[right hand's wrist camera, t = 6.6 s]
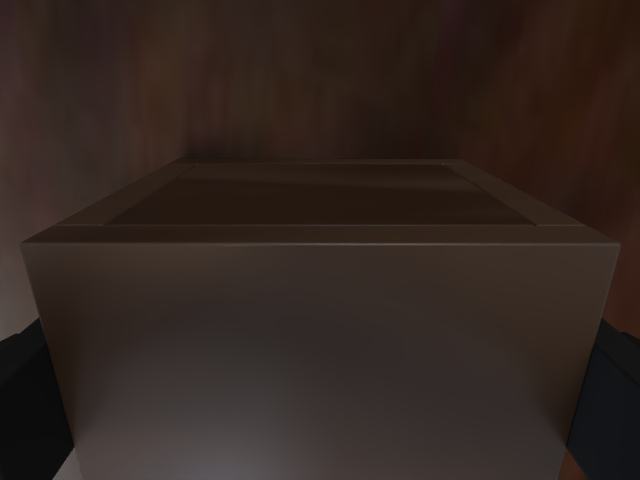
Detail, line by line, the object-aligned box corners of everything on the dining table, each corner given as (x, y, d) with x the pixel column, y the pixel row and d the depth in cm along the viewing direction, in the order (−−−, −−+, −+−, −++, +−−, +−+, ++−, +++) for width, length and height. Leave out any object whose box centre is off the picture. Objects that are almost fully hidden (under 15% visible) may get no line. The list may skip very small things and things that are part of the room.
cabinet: (417, 535, 23) (473, 791, 15) (222, 535, 23) (166, 790, 15) (463, 158, 16) (623, 243, 7) (177, 158, 16) (17, 242, 7)
